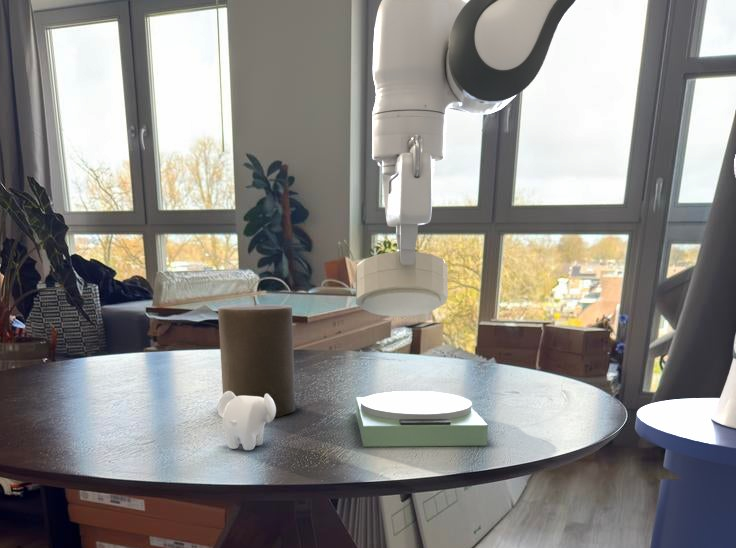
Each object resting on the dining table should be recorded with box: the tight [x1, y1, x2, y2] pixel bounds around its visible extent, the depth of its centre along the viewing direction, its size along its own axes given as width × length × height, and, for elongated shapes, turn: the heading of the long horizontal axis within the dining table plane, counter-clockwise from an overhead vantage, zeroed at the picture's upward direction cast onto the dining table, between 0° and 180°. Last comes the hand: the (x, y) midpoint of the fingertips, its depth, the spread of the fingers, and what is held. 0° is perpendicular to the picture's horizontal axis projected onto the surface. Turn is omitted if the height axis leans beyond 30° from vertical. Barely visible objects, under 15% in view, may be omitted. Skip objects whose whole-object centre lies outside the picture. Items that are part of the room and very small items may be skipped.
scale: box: [355, 390, 489, 448], centre depth 88 cm, size 14×16×3 cm
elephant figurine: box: [216, 391, 276, 451], centre depth 80 cm, size 7×8×6 cm
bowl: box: [355, 251, 449, 317], centre depth 98 cm, size 12×12×5 cm
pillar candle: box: [217, 295, 296, 418], centre depth 96 cm, size 10×10×15 cm
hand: (405, 264), depth 92 cm, fingers closed on bowl
